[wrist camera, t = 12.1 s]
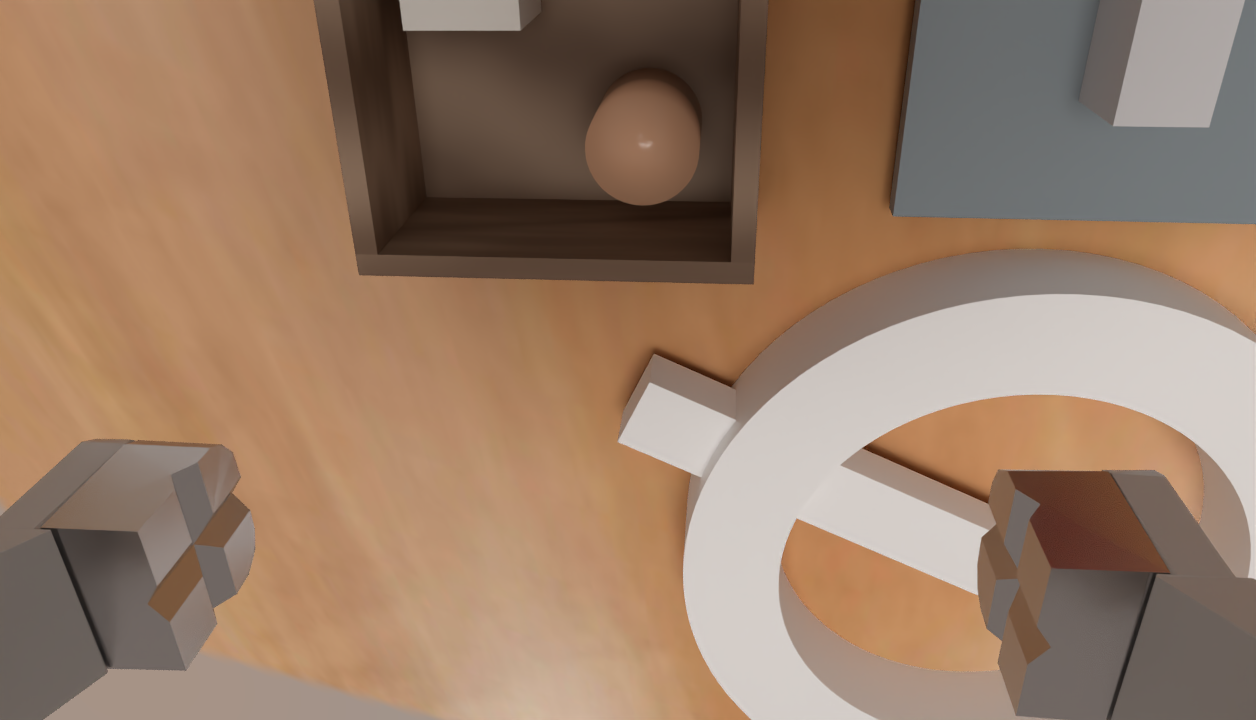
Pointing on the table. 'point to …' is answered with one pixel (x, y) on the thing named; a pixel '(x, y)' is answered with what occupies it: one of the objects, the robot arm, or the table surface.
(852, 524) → the ring with crossbar
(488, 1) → the ivory block
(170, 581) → the robot arm
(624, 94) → the terracotta egg
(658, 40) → the walnut box
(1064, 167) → the lid
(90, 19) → the table surface
